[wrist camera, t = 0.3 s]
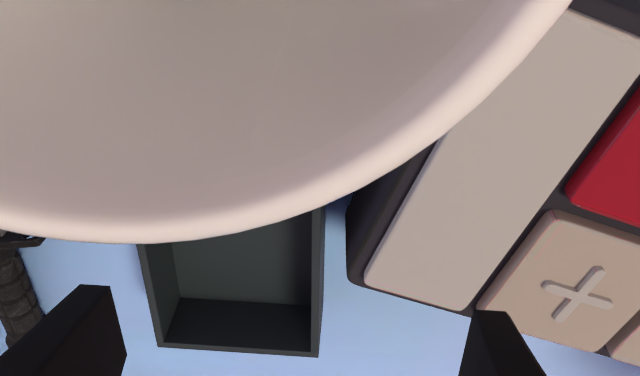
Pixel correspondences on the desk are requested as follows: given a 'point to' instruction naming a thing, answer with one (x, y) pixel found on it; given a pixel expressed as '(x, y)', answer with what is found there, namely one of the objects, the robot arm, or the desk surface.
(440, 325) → the desk surface
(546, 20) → the drinking glass
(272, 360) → the desk surface
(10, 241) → the knife
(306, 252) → the tray
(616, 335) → the calculator
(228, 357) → the desk surface
